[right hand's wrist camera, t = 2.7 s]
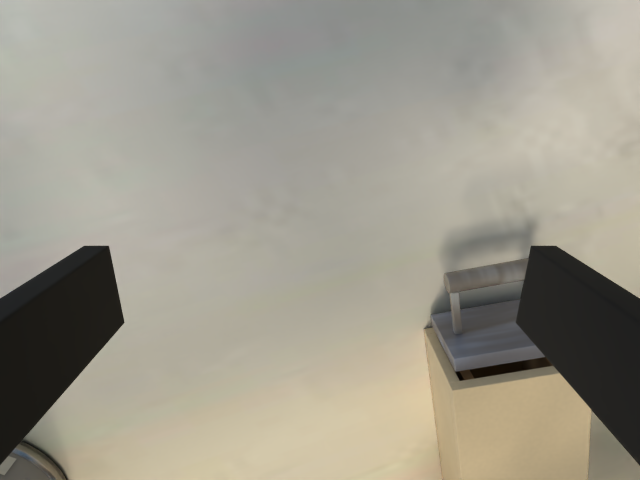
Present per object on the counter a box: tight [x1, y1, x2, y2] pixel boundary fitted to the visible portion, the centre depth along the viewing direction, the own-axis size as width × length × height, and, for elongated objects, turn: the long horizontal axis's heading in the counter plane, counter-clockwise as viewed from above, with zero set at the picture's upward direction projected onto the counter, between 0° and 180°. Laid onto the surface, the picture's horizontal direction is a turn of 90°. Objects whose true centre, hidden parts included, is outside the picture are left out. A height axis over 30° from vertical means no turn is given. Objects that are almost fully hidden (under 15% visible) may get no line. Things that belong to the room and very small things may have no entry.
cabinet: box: [424, 328, 591, 480], centre depth 35 cm, size 21×10×8 cm, turn 11°
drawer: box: [431, 258, 553, 381], centre depth 33 cm, size 25×9×6 cm, turn 11°
